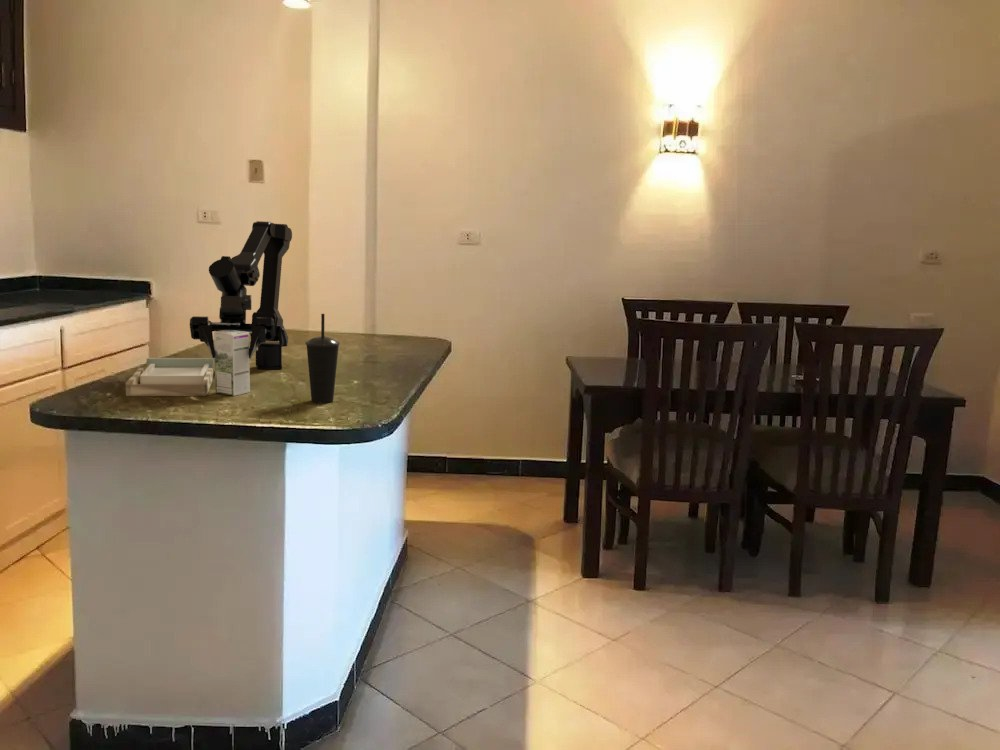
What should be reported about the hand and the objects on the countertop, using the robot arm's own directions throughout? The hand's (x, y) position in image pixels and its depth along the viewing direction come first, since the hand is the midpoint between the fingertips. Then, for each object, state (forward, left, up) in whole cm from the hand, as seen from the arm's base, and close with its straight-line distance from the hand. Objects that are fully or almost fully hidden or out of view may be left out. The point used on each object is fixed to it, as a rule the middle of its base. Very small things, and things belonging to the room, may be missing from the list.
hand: (231, 357), depth 189 cm
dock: (+14, -8, -9) cm, 18 cm away
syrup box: (0, -1, -9) cm, 9 cm away
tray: (+14, -17, -9) cm, 24 cm away
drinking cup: (-20, +9, -9) cm, 23 cm away
